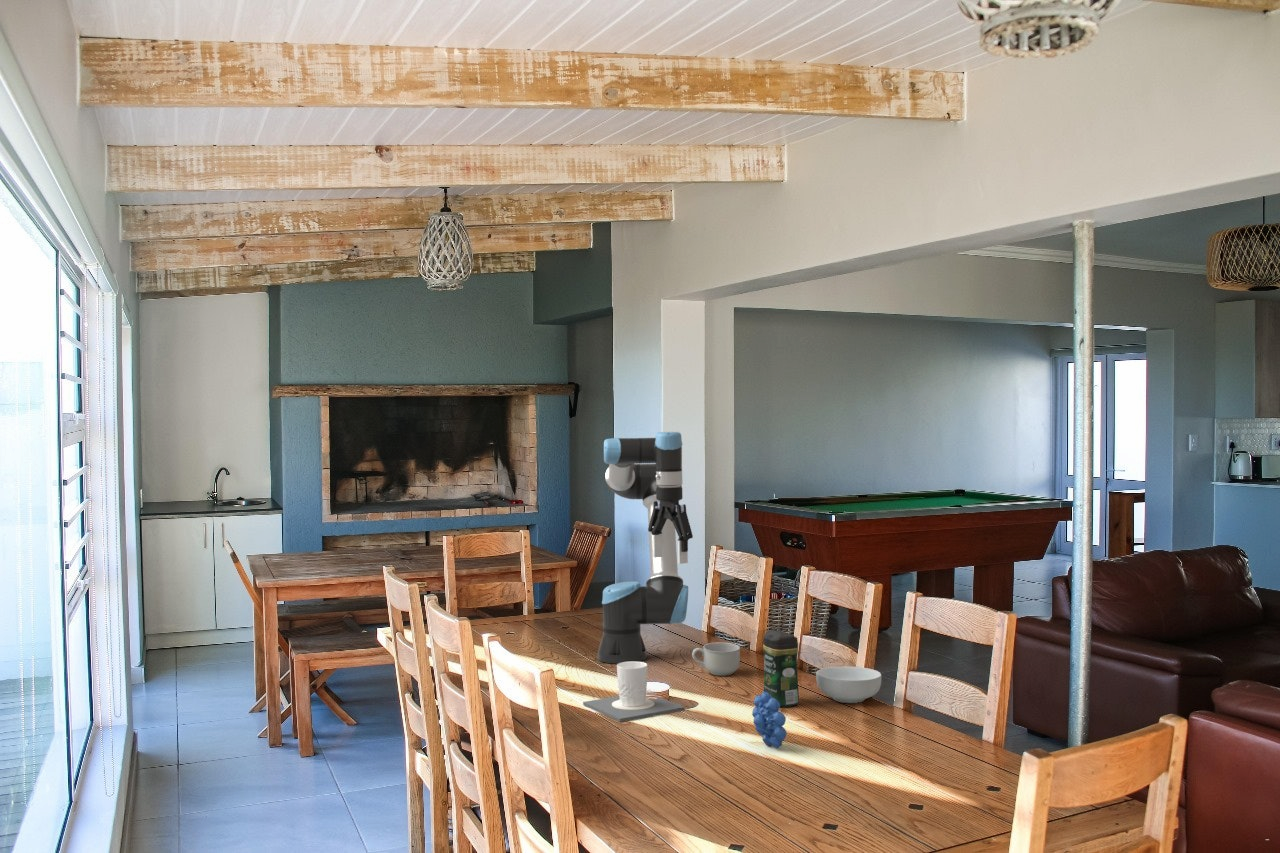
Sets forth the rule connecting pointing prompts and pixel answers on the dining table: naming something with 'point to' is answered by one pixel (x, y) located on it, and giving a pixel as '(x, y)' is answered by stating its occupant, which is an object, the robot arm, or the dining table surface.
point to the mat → (632, 708)
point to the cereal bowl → (848, 683)
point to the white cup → (632, 683)
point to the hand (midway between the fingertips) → (670, 560)
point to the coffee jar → (781, 667)
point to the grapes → (769, 720)
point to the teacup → (719, 658)
